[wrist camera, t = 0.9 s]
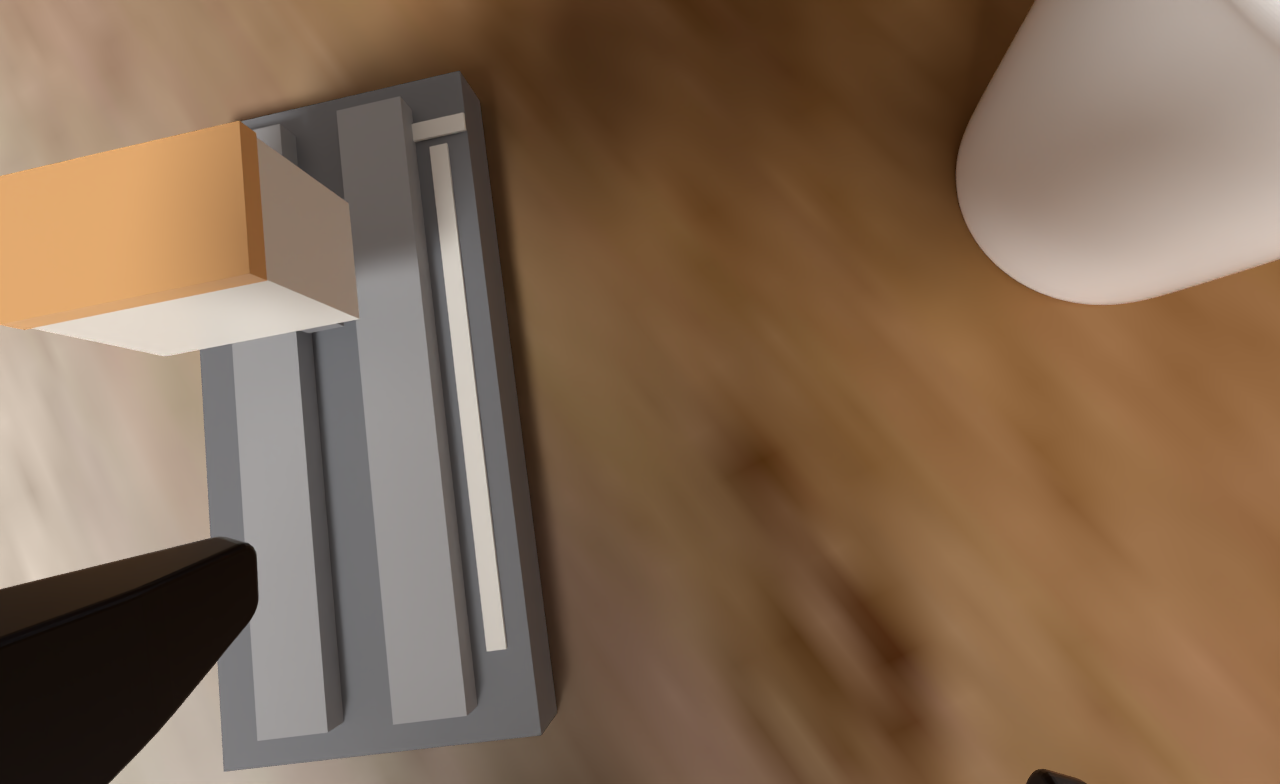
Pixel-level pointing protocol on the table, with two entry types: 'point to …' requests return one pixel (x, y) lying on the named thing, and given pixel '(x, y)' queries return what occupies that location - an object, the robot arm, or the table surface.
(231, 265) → the fader
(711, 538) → the table surface
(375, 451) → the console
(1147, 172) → the candle holder
